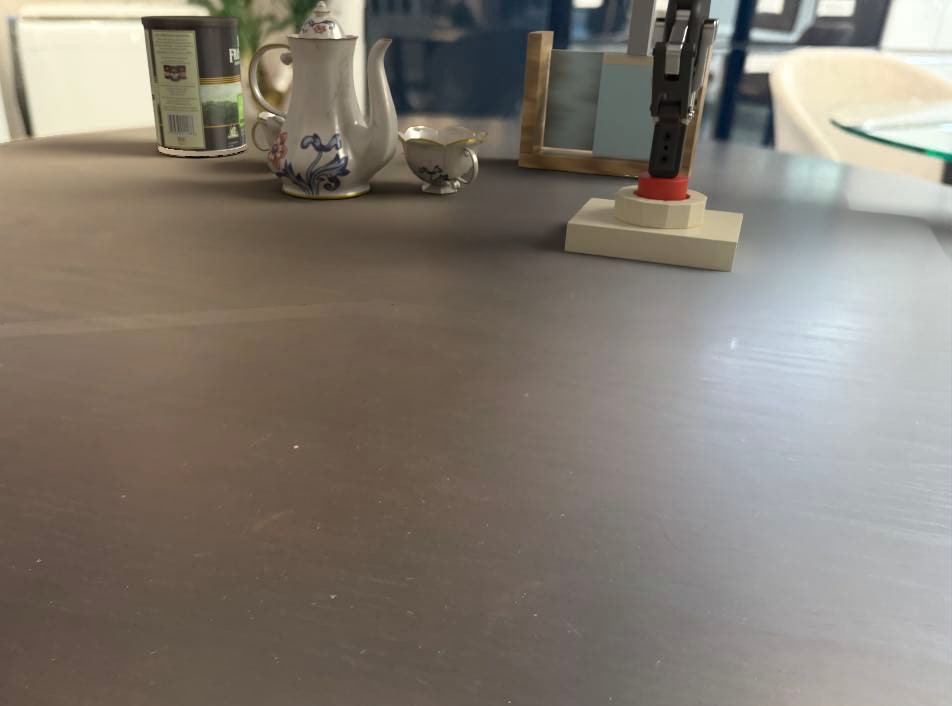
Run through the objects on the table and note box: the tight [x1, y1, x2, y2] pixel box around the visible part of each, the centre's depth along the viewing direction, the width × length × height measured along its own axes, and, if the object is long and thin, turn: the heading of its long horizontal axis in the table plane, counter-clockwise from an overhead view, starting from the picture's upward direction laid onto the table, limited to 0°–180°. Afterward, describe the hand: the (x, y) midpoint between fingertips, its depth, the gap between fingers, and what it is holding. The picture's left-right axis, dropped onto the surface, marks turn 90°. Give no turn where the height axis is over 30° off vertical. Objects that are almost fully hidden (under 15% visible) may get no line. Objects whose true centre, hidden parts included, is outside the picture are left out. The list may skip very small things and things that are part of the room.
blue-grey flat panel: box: [592, 0, 658, 159], centre depth 85 cm, size 7×2×17 cm, turn 68°
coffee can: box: [140, 15, 247, 158], centre depth 94 cm, size 10×10×14 cm
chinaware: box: [247, 0, 489, 200], centre depth 79 cm, size 28×17×17 cm, turn 63°
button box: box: [564, 184, 744, 273], centre depth 64 cm, size 12×9×4 cm
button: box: [637, 172, 690, 201], centre depth 63 cm, size 4×4×2 cm
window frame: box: [517, 30, 715, 179], centre depth 88 cm, size 18×5×14 cm, turn 68°
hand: (663, 175), depth 62 cm, fingers closed
